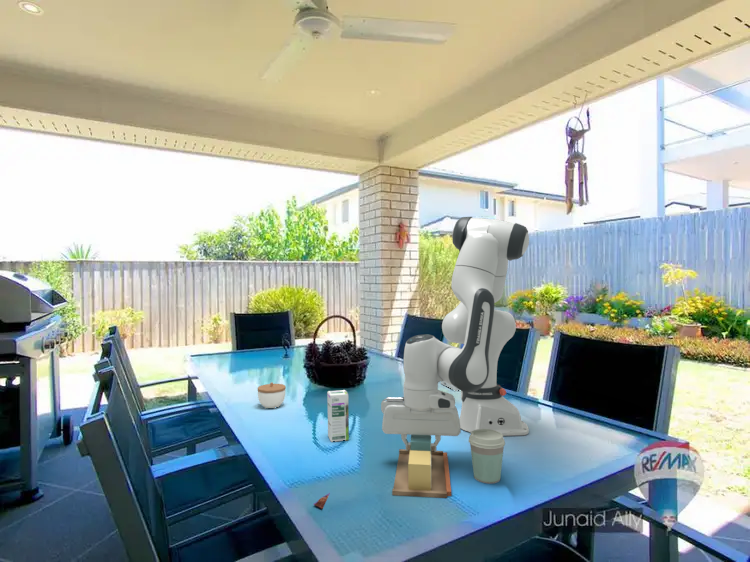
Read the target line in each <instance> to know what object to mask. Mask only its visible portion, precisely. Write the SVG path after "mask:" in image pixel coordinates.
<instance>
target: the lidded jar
mask: <svg viewBox="0 0 750 562" xmlns="http://www.w3.org/2000/svg"><path fill="white" fill-rule="evenodd" d="M257 396H258V397H257V398H258V402H259V403H260V405H261V406H263V408H264V407H265V408H264V409H266V408H274V409H276V408H275V407H278V408H279V406H281V405H283V402H284V401H285V397H286V385H285V384H282V383H274V382H273V381H272V382H271V381H270V383H267V384H266V383H265V384H263V385H259V386H258V387H257Z"/></svg>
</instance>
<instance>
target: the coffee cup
mask: <svg viewBox="0 0 750 562" xmlns="http://www.w3.org/2000/svg"><path fill="white" fill-rule="evenodd" d="M468 443H469V444H470V445H469V446H470V453H471V461H472V462H471V463H472V470H473V478H474V479H475V480H476V481H478V482H479V483H484V484H496V483H499V482H500V481H501V477H502V476H501V475H502V467H503V457H504V448H505V447H504V446H505V445H506V442H505V439H504V436H503V435H502V434H501V433H500V432H498V431H495V430H491V429H477V430H473V431H472V432H470V435H469V438H468Z"/></svg>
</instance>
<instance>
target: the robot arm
mask: <svg viewBox="0 0 750 562" xmlns="http://www.w3.org/2000/svg"><path fill="white" fill-rule="evenodd" d="M451 236H452V237H451V238H452V239H451V240H452V244H453V246H454V247H455V248H456V249H457V250H458V251H459V253H458V256H457V259H456V262H455V265H454V267H453V268H454V269H453V272H452V275H451V283H450V284H451V285H450V286H451V290H452V293H453V295H454V296H455V298H457V300H458V301H460V302H459V304H458V305H457V306H456V307H455V308H454V309H453V310H451V311H449V312H448V313H447V314H446V315H445V316H444V318H443V320H442V322H441V323H442V324H441V329H442V330H441V331H442V334H443V336H444V338H445V339H446V340H447V341H448V342H450V343H455V344H461V345H463V346H462V348H460V347H457V346H454V345H450V344H448V343H445V342H443V341H440V340H439V339H438V338H436V337H435V336H434V335H432V334H418V335H414V336H411V337H409V338H408V339H407V340H406V342H405V346H404V351H403V373H404V383H403V396H400V397H399V396H395V397H393V396H392V397H391V396H387V397H386V398H384V399H382V401H381V403H380V409H381V413H382V414H383V416H382V425H381V430H382V431H383V433H384V434H386V435H400V436H401V440H402V442H403V444H404V445H405V449H406V451H410V450H411V446H410V442H411V441H408V439H407V438H408V435H410V436H411V435H431V436H434V438H435V439H434V440H435V441H434V442H433V443H432V442H431V452H437V451H438V450H437V446H438V445H439V444H440V442H441V439H442V437H441V436H445V437H446V436H447V437H458V436H460V434H461V431H462V430H463V431H465V432H469V433H471V432H472V431H473V430H477V429H491V430H495V431H498V432H500V433H501V434H502V435H503V437H505V436H506V437H508V436H509V437H510V436H511V437H512V436H527V435H528V434H529V432H530V429H529V427H528V424H527V423H526V422H525V421H524V420H522V416H521V414H520V411H519V409H518V408H517V406H516V405H514V404H513V403H512V402H511V401H509V400H508V399H507V398H505V397H504V396H506V395H507V391H506V389H505V388H503V387H502V386H501V385H500V384H498V383H497V381H498V380H497V373H498V371H497V370H498V361H499V357H500V354H501V352H502V350H503V348H504V346H505V345H506V344H507V342H509V340H510V339H512V338H513V337H514V336H515V332H516V330H517V323H516V320H515V317H514V316H513V315H512V313H510V312H508V311H505V310H500V309H495V303H497V302H499V301H500V300H501V299H502V297H503V294H504V290H505V284H506V280H507V279H506V278H507V275H508V267H509V261H510V262H511V261H513V260H514V261H516V260H518V259H520V258H522V257H523V256H524V254H525V253H526V251H528V247H529V245H530V236H529V230H528V229H527V227H526V226H524V225H522V224H521V223H517V222H515V223H512V222H509V221H505V220H501V219H496V218H492V219H491V218H484V217H483V218H481V217H473V216H463V217H460V218H459V219H458V220H456V222H455V225H454V226H453V229H452V234H451ZM441 381H444V382H446V383H449V384H451V385H453V386H455V387H456V388H458V389H459V390H461V391H460V398H461V409H460V414H459V412H458V409H457V407H456V399H455V396H454V395H453V394H452V393H449V392H447V391H443V390H441V389H439V387H438V384H439V383H441Z"/></svg>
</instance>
